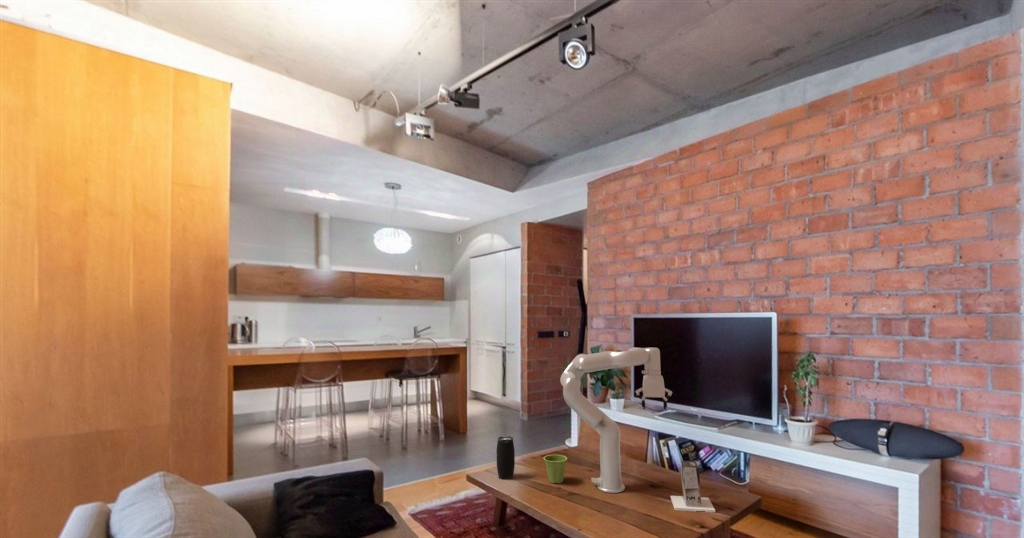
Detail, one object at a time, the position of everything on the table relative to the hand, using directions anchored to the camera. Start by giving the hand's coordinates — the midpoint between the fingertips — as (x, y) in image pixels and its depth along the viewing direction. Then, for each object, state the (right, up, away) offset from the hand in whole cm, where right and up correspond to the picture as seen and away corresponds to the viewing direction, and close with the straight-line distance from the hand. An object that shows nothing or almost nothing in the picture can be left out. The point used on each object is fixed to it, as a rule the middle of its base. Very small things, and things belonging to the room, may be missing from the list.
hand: (654, 408), depth 222 cm
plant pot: (-48, -38, +5) cm, 61 cm away
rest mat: (+8, -34, -26) cm, 43 cm away
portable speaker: (-73, -39, +12) cm, 83 cm away
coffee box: (+8, -33, -25) cm, 42 cm away
